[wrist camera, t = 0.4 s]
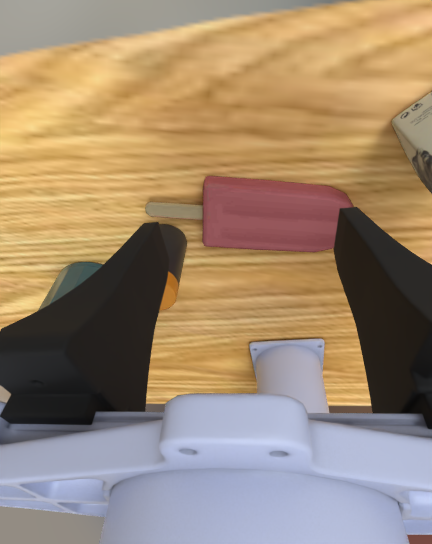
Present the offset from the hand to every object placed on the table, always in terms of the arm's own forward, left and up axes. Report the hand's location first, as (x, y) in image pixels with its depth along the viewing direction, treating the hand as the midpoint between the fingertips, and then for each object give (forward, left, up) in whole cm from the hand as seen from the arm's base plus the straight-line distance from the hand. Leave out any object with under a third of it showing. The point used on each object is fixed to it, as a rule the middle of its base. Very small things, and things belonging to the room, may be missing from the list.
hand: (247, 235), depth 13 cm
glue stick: (-7, +8, -10) cm, 15 cm away
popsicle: (-5, +1, -10) cm, 12 cm away
